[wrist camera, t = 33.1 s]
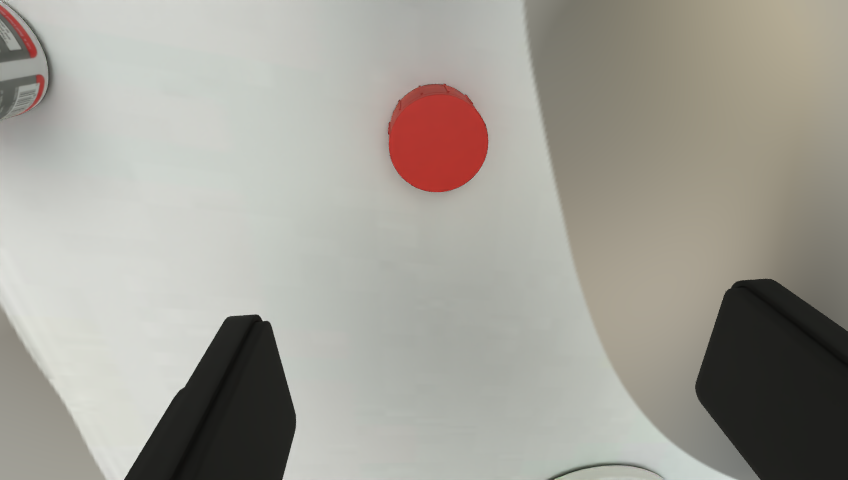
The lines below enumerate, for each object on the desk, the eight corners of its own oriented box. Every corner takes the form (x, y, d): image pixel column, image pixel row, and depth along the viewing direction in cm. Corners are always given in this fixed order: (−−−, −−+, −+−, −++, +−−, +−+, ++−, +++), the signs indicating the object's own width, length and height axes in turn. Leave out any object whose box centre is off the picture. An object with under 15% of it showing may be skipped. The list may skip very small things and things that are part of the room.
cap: (375, 151, 19) (373, 169, 17) (413, 67, 18) (415, 75, 15) (452, 185, 20) (458, 206, 18) (494, 109, 19) (507, 122, 16)
